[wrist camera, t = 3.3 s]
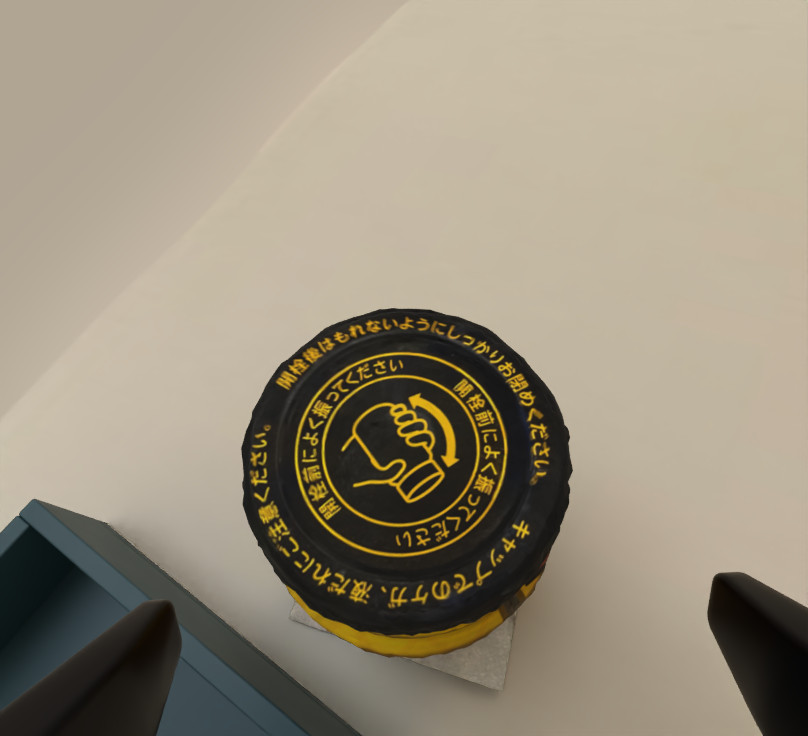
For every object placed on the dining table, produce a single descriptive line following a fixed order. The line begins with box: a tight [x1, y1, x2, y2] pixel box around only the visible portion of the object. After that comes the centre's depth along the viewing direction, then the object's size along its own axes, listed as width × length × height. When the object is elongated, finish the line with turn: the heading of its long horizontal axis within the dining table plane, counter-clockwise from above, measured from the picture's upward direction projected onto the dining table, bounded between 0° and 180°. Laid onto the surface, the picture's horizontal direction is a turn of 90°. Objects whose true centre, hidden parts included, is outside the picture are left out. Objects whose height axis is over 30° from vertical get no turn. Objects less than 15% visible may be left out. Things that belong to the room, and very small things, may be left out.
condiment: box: [241, 308, 573, 692], centre depth 14 cm, size 7×8×12 cm
